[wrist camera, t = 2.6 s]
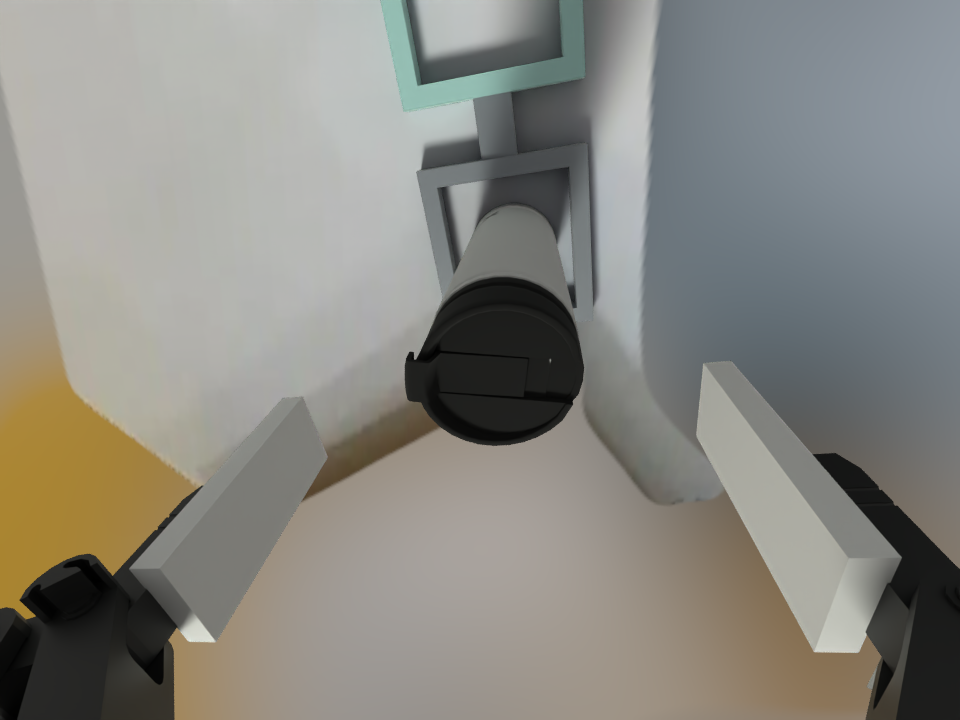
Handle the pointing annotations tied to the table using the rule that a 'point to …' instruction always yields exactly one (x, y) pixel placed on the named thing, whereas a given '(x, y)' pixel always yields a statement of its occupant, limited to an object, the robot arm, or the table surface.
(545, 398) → the travel mug
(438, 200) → the frame
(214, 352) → the table surface
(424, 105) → the frame
